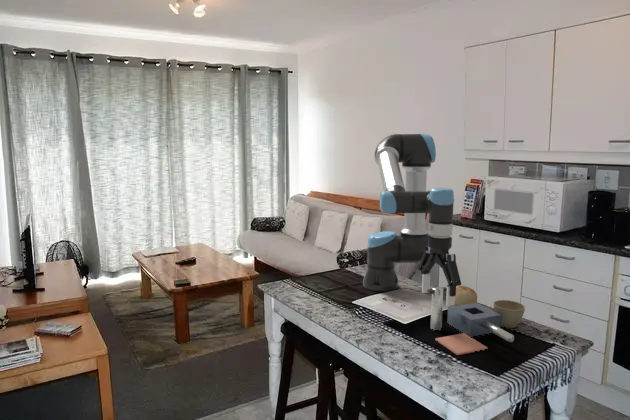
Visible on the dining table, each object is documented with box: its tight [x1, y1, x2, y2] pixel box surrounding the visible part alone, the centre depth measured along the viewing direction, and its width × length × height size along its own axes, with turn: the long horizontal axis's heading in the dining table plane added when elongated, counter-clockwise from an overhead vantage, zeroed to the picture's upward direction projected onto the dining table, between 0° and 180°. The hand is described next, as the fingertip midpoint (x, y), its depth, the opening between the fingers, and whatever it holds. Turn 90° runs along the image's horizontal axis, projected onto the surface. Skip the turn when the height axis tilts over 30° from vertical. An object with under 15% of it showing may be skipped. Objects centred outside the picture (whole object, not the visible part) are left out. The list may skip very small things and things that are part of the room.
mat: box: [434, 332, 488, 356], centre depth 143 cm, size 11×11×1 cm
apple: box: [454, 285, 478, 306], centre depth 173 cm, size 9×9×8 cm
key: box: [427, 286, 447, 331], centre depth 154 cm, size 4×7×14 cm, turn 111°
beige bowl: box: [493, 299, 526, 329], centre depth 158 cm, size 10×10×7 cm
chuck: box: [446, 302, 515, 343], centre depth 150 cm, size 23×12×6 cm, turn 21°
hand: (437, 298), depth 153 cm, fingers open, 13 cm apart
